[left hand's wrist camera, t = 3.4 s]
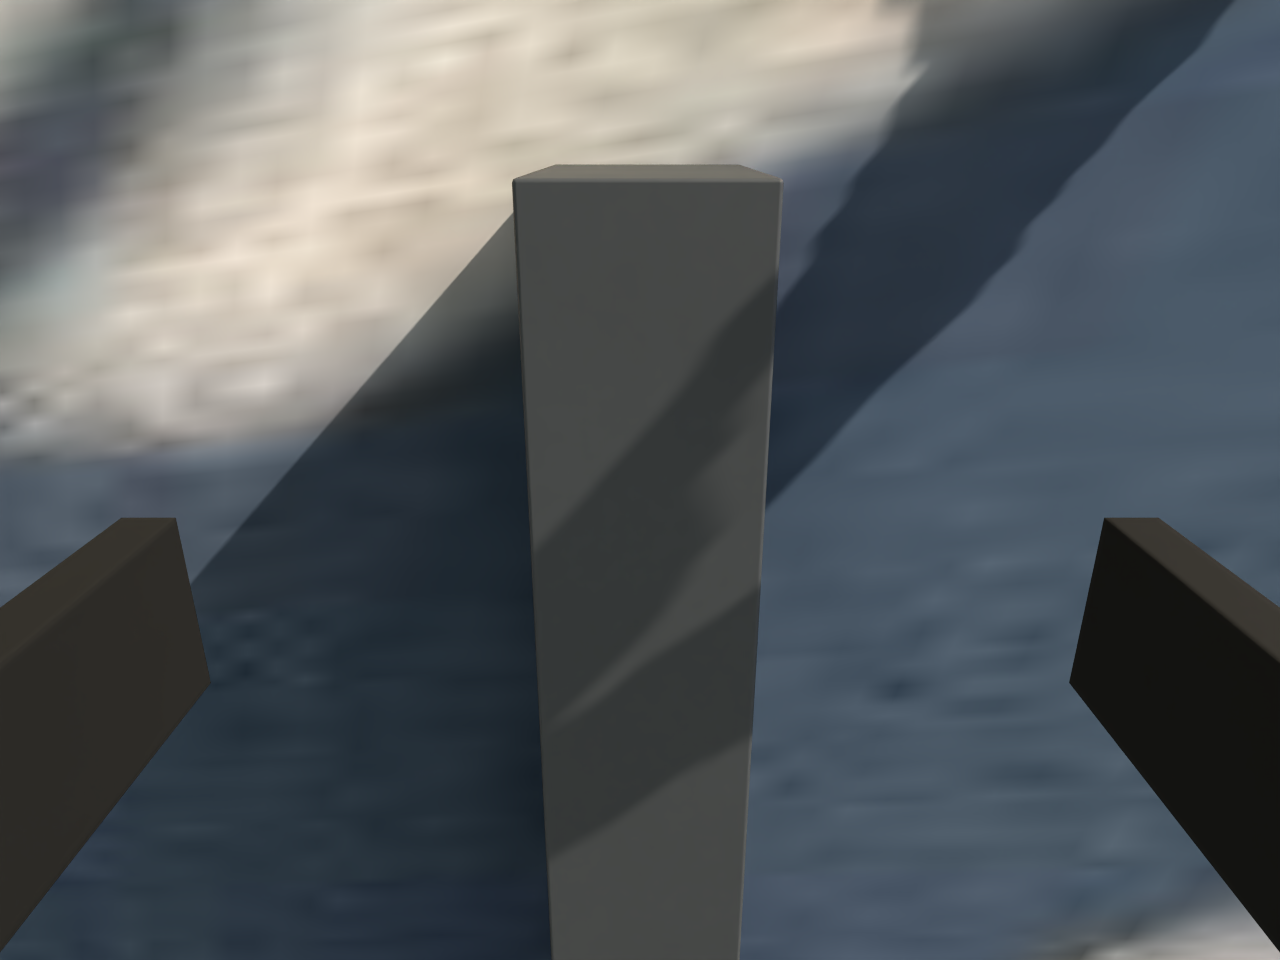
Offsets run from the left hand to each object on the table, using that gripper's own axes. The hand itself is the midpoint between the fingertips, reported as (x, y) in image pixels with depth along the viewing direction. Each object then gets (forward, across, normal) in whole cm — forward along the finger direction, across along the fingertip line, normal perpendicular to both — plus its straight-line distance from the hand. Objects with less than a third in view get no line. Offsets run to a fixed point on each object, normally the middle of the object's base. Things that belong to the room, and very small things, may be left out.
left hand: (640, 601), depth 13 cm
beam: (+13, 0, -23) cm, 26 cm away
